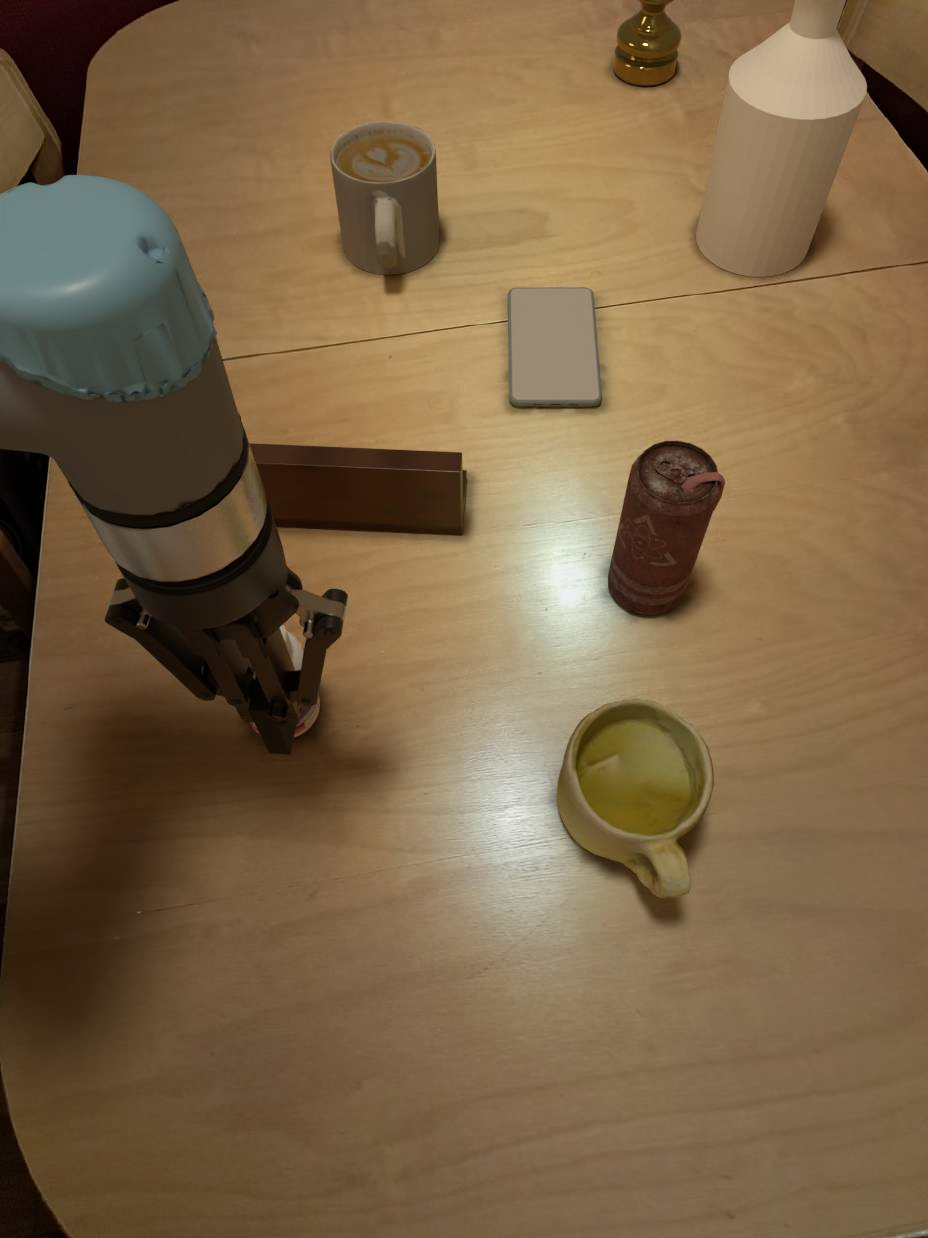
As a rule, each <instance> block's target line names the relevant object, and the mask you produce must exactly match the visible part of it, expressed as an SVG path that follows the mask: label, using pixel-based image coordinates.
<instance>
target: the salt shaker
mask: <svg viewBox="0 0 928 1238" xmlns="http://www.w3.org/2000/svg"><path fill="white" fill-rule="evenodd" d="M637 1H638V2H639V3H640V10H638V12H636V13H634V14H633V15H632V16H631V17H629V18H627V19H626V20H624V21H623V22H622V23H621V24H620V25H619V27H618V29H617V32H616V44H617V45H616V47H615V48H614V61H613V71H614V73H615V74H616V76H617V77H618V78H620V79H621V80H622V81H624V82H626V83H628V84H631V85H635V86H641V87H648V86H650V87H651V86H657V85H660V84H663V83H665V82H667V81H669V80H670V79H671V78H673V76H674V74H675V72H676V66H677V61H678V58H679V51H678V48H679V47H680V44H681V41H682V31H681V29H680V27H679V25H678V24H677V23H676V22H674V20H672V18H671V17H670V16H669V15H668V14H667V13H666V8H667V6H668V5H669V4H671V3H673V2H674V1H675V0H637Z"/></svg>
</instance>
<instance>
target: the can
mask: <svg viewBox="0 0 928 1238" xmlns="http://www.w3.org/2000/svg"><path fill="white" fill-rule="evenodd" d="M725 484H726V480H725V478H724V475H723V474H720V473H719V470H718V466H717V464H716V462H715V461H714V459H713V457H712V456H711V455H710V454H709V453H708V452H706V450H704V449H703V448H701V447H699V446H698V445H695V444H694V443H691V442H686V441H682V440H664V441H660V442H656V443H654V444H652V445H651V446H649V447H647V448H646V449H644V450H643V452H642V453H641V454H639V455H638V456H637V458H636V459H635V460H634V462H633V463H632V464H631V467H630V471H629V474H628V480H627V484H626V487H625V488H626V489H625V493H624V498H623V503H622V506H621V507H622V508H621V513H620V517H619V521H618V525H617V531H616V536H615V540H614V545H613V550H612V554H611V555H612V556H611V559H610V564H609V568H608V574H607V583H608V588H609V591H610V593H611V595H612V597H613V598H614V599H615V600H616V601H617V602H618V604H620V605H621V606H622V607H624V608H626V609H628V610H629V611H631V612H633V613H637V614H641V615H660V614H662V613H666V612H669V611H671V610H672V609H673V608H675V607H676V606H677V605H679V603H680V602H681V601H682V599H683V597H685V594H686V591H687V588H688V585H689V582H690V580H691V576H692V574H693V571H694V569H695V565H696V562H697V559H698V557H699V554H700V550H701V548H702V545H703V542H704V540H705V539H704V538H705V537H706V533H707V530H708V528H709V524H710V521H711V519H712V516H713V513H714V512H715V510H716V508H717V506H718V505H719V502H720V501H721V499H722V497H723V492H724V489H725Z"/></svg>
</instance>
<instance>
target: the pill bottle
mask: <svg viewBox="0 0 928 1238" xmlns="http://www.w3.org/2000/svg"><path fill="white" fill-rule="evenodd" d="M280 630H281V633H282V636H283V638H284V641H285V644H286V646H287V649H288V652H289V655H290V657H291V660H292V663H293V665H294V668H295V671H296V670H301V666H302V659H303V652H304V647H303V645H302V643H301V642H300V641H299V638H297V637H296V635H294V634H293V633H291V632H290V631H288V630H287V629H286V626H285V624H283V625H282V626H281V627H280ZM255 676H256V674H255V672H254V675H253V677H254V680H255ZM320 709H321V698H320V694H319V693H318V698H317V703H316V705H314V706H304V705H303V706H302V711H301V717H300V722H299V724H298V725H296V729H295V735H294V739H295V738H297V737H299V736H301V735H303V734H304V733H306V732H307V731H309V729H311V727H312V726H313V725H314V724H315V722H316V721H317V718H318V716H319V713H320ZM248 723H249V724H250V726H251V728H252V729H253V730H254V731H255V732H256V733H257V734H259V732H258V730H257V728H256V726H255V723H250V722H248Z"/></svg>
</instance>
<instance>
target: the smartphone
mask: <svg viewBox="0 0 928 1238" xmlns="http://www.w3.org/2000/svg"><path fill="white" fill-rule="evenodd" d="M593 291H594V290H592V289H590V288H589V287H585V286H583V287H581V286H580V287H576V286H575V287H571V286H570V287H569V286H568V287H567V286H565V287H563V286H561V287H558V286H557V287H555V286H554V287H552V286H551V287H548V286H547V287H513V288H511V289H509V291H508V293H507V337H508V339H507V340H508V346H507V347H508V391H509V392H508V399H509V402H510V403H511V405H513V406H515V407H596V406H598V405H600V403H602V398H603V392H602V382H601V370H600V369H601V368H600V356H599V345H598V329H597V317H596V316H597V315H596V305H595V295H594V292H593Z"/></svg>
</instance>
